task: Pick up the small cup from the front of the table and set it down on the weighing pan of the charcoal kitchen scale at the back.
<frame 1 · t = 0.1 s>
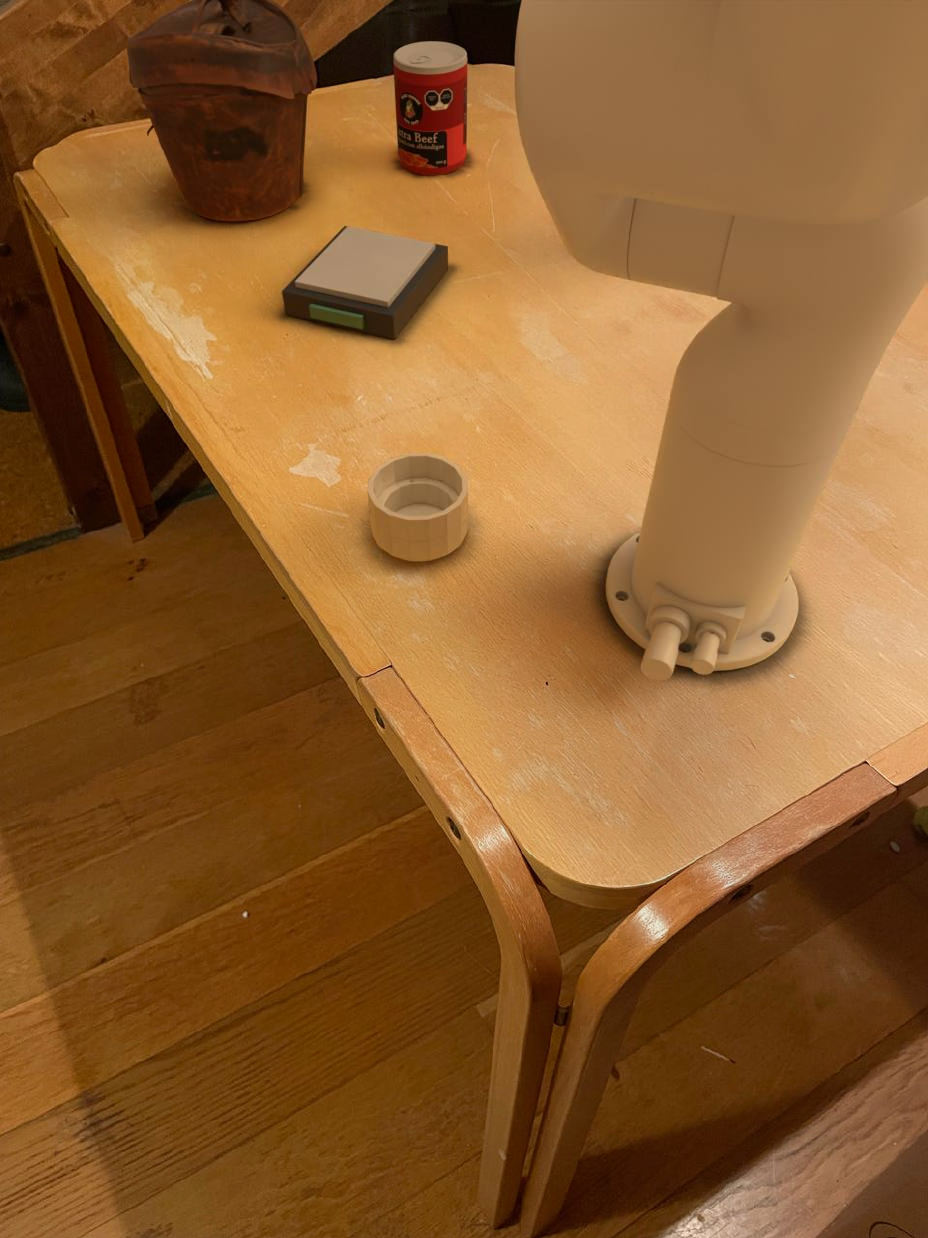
small cup: (419, 531, 64), on the table
scale: (369, 291, 85), on the table
milk bottle: (689, 256, 90), on the table
brown flower pot: (244, 195, 97), on the table
canned food: (432, 162, 103), on the table
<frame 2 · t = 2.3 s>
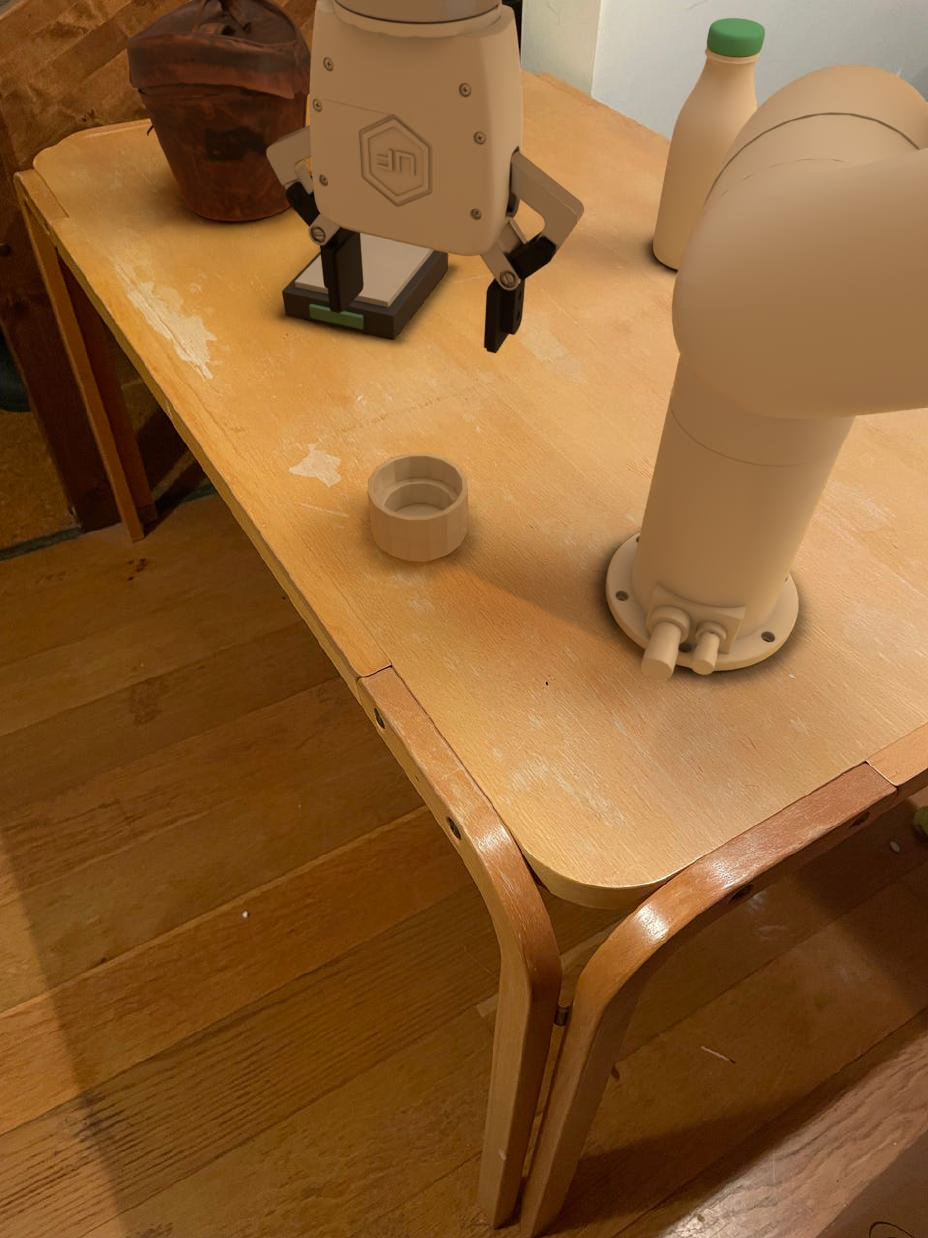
hand: (421, 319, 52), 17 cm above the table, tool pointing down, fingers open, 9 cm apart
nothing on the table moved.
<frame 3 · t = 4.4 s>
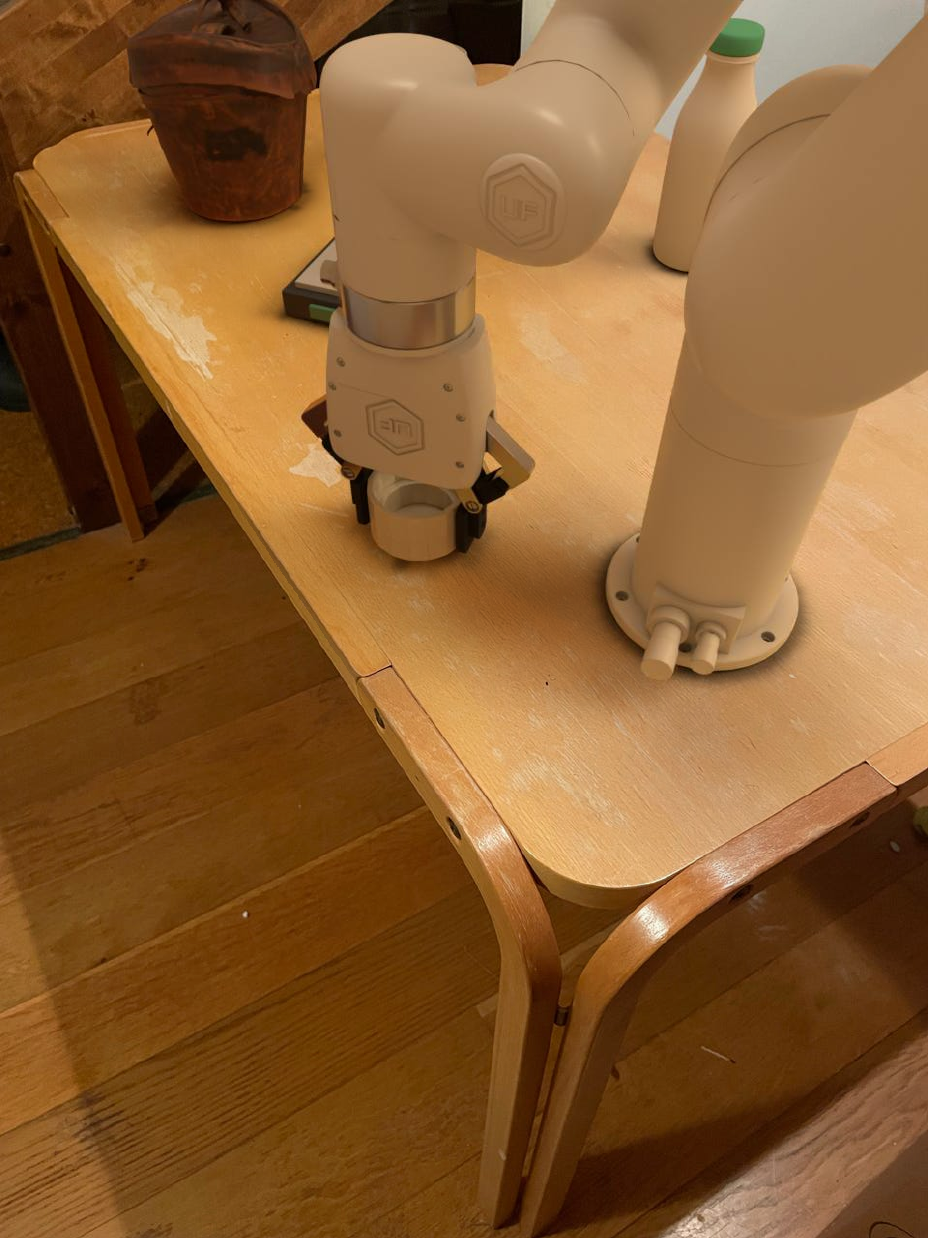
hand: (419, 524, 64), 1 cm above the table, tool pointing down, fingers closed on small cup, 6 cm apart
small cup: (419, 531, 64), on the table, touching gripper
everything else where it was.
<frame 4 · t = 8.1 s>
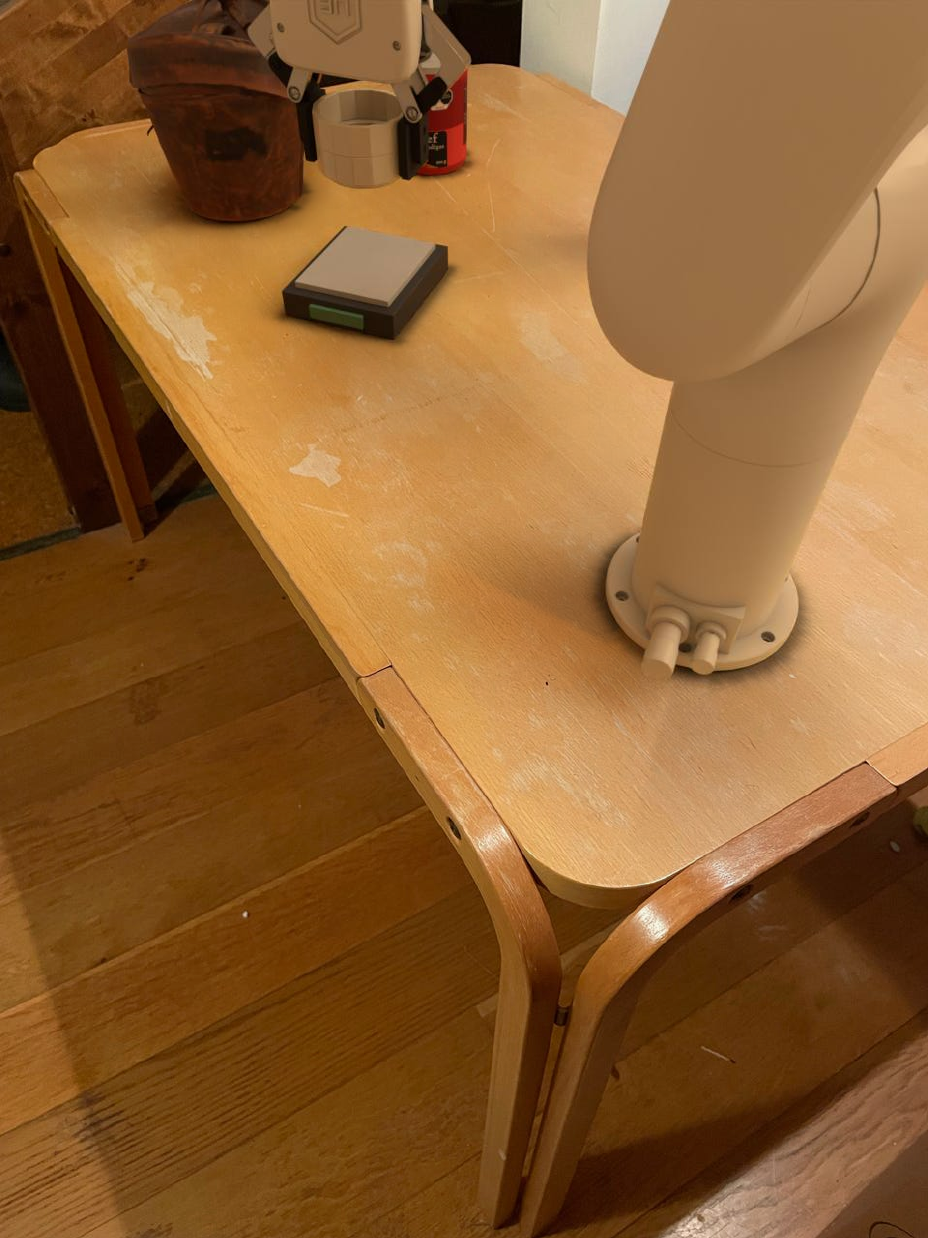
hand: (365, 161, 66), 16 cm above the table, tool pointing down, fingers closed on small cup, 6 cm apart
small cup: (365, 171, 67), point 15 cm above the table, touching gripper
everything else where it was.
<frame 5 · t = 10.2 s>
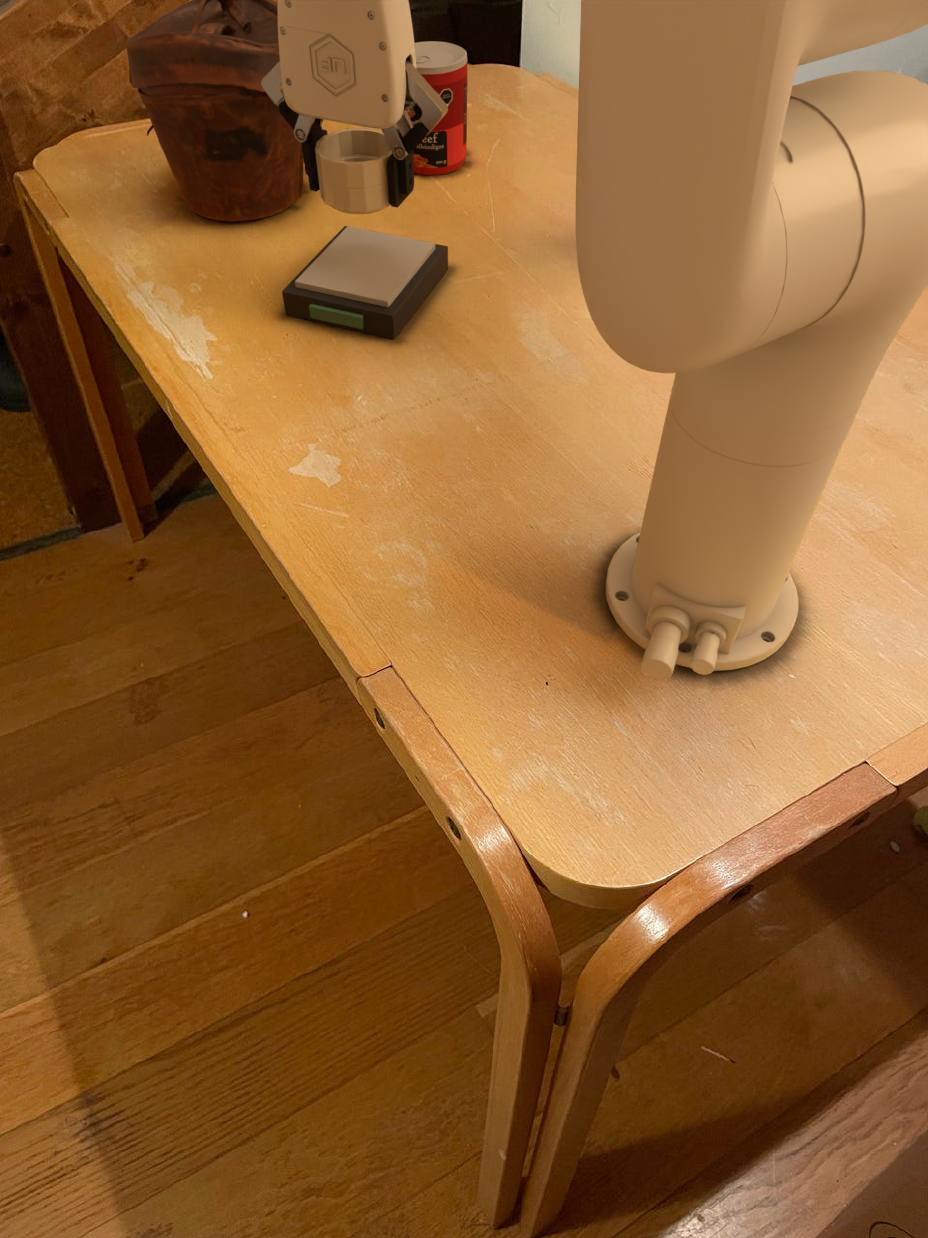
hand: (360, 190, 78), 9 cm above the table, tool pointing down, fingers closed on small cup, 6 cm apart
small cup: (360, 198, 78), point 9 cm above the table, touching gripper
everything else where it was.
when the fingers open (4 cm above the table, at t = 12.1 s): small cup stays where it is, resting on scale.
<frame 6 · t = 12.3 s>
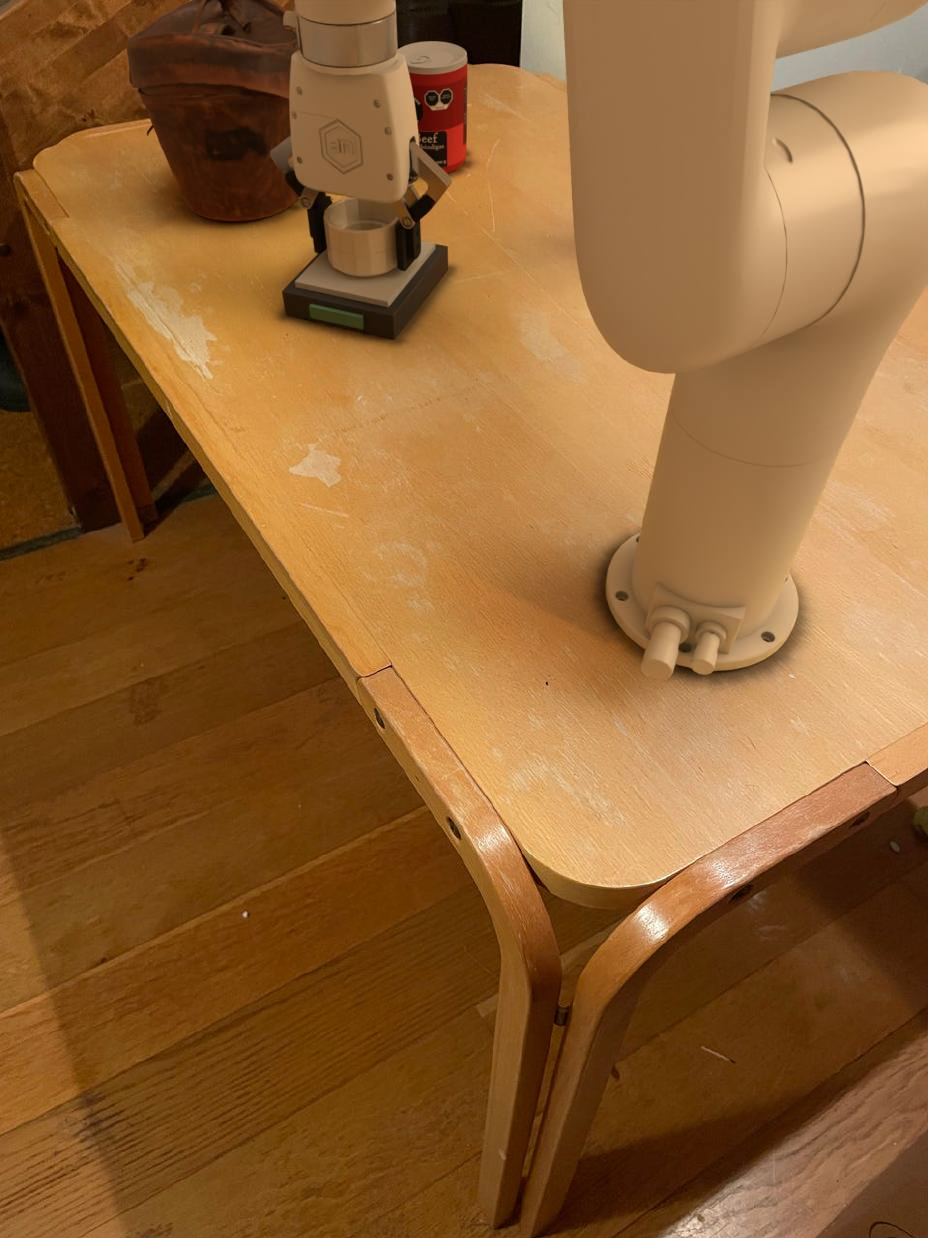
hand: (366, 253, 82), 4 cm above the table, tool pointing down, fingers open, 7 cm apart
small cup: (366, 261, 82), point 3 cm above the table, touching scale
everything else where it was.
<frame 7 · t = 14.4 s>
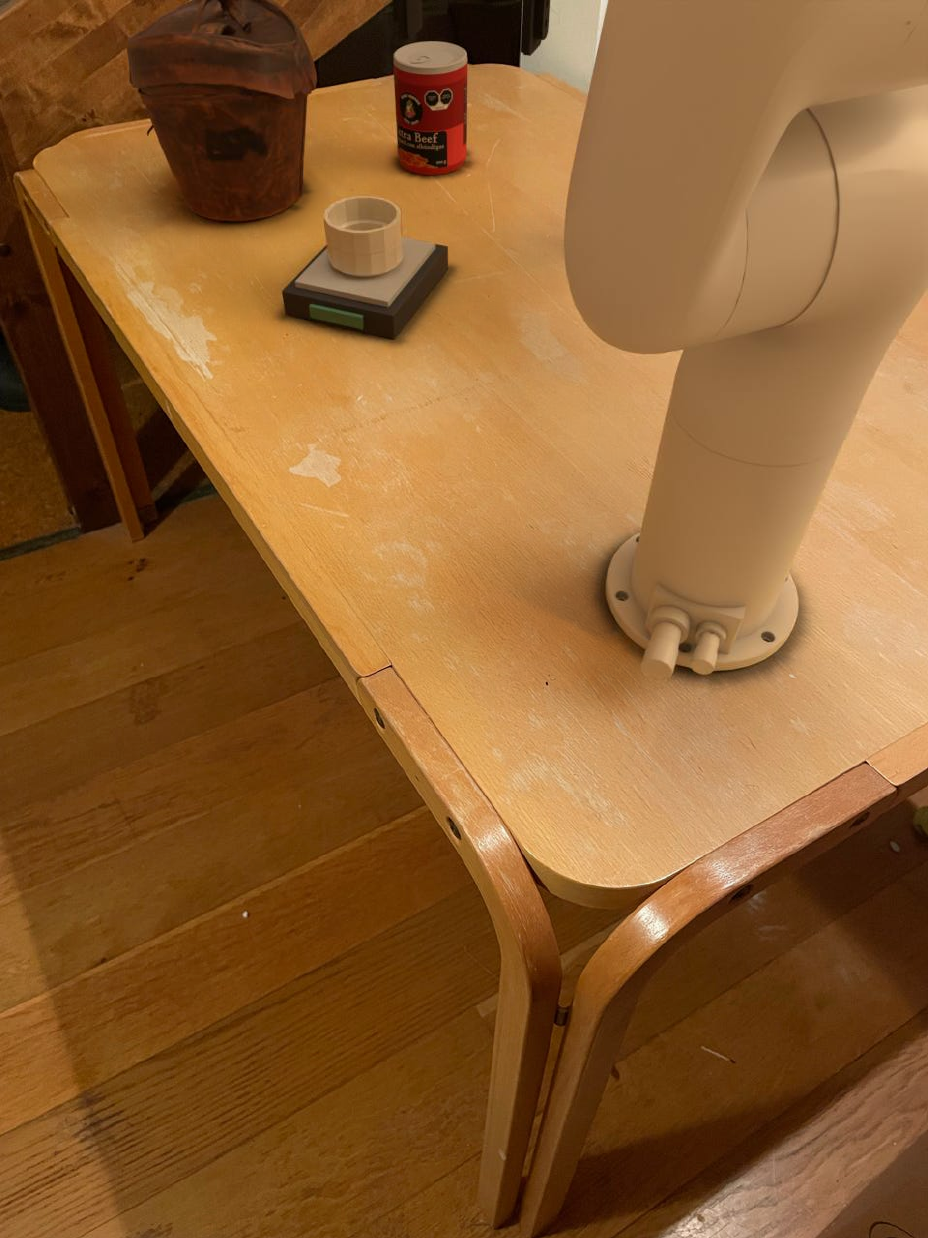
hand: (470, 41, 67), 21 cm above the table, tool pointing down, fingers open, 9 cm apart
nothing on the table moved.
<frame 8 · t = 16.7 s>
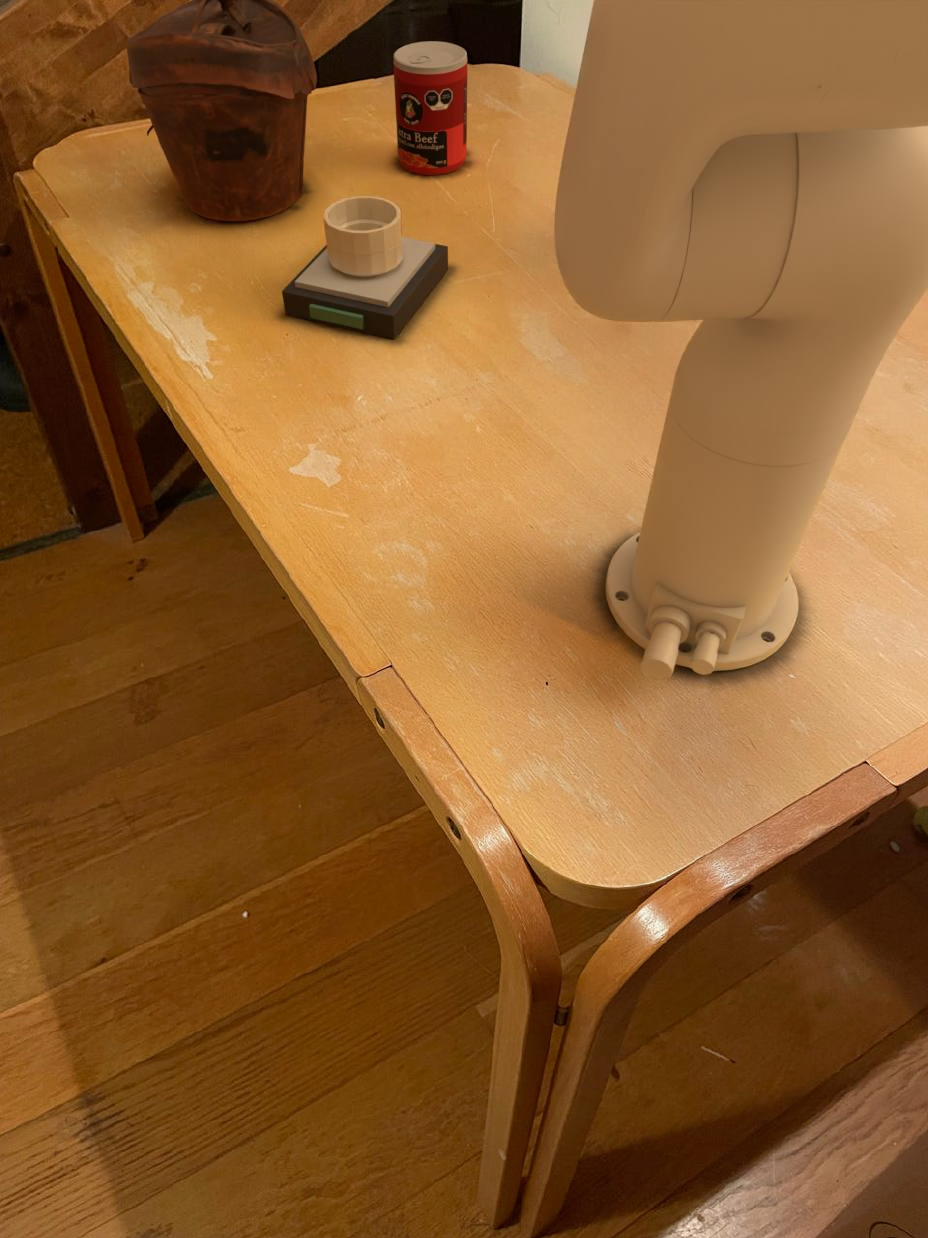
nothing on the table moved.
at the end: small cup inside the target area on the scale (0.0 cm from its centre), point 3.0 cm above the scale's base; small cup tilted 0°; the gripper is holding nothing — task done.
